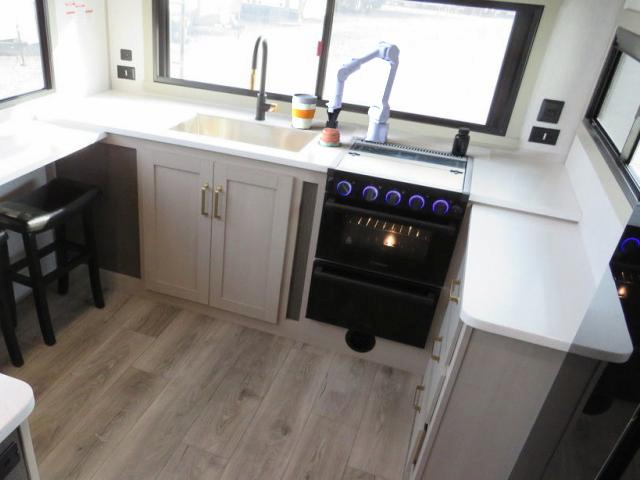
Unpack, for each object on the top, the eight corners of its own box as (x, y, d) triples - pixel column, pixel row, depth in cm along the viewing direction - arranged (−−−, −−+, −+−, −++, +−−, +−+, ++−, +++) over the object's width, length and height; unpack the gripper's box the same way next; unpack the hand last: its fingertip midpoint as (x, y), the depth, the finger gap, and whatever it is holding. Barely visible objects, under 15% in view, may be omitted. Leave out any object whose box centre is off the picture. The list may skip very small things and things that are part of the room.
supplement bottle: (465, 153, 272) (472, 127, 265) (465, 157, 266) (472, 131, 260) (450, 151, 274) (457, 125, 267) (450, 155, 268) (456, 129, 262)
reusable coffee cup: (300, 122, 303) (303, 92, 295) (318, 127, 295) (322, 97, 288) (284, 125, 295) (287, 94, 287) (303, 130, 287) (307, 99, 280)
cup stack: (341, 142, 276) (343, 129, 272) (336, 148, 268) (338, 134, 265) (322, 139, 278) (324, 126, 275) (317, 144, 271) (319, 131, 268)
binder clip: (337, 127, 270) (338, 120, 268) (336, 129, 267) (337, 122, 266) (327, 125, 271) (328, 118, 269) (325, 127, 269) (326, 120, 267)
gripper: (331, 90, 268) (327, 119, 275) (323, 96, 257) (319, 127, 264) (346, 92, 266) (342, 121, 273) (339, 98, 255) (334, 129, 262)
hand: (332, 124), depth 268 cm, fingers closed on binder clip, 3 cm apart
